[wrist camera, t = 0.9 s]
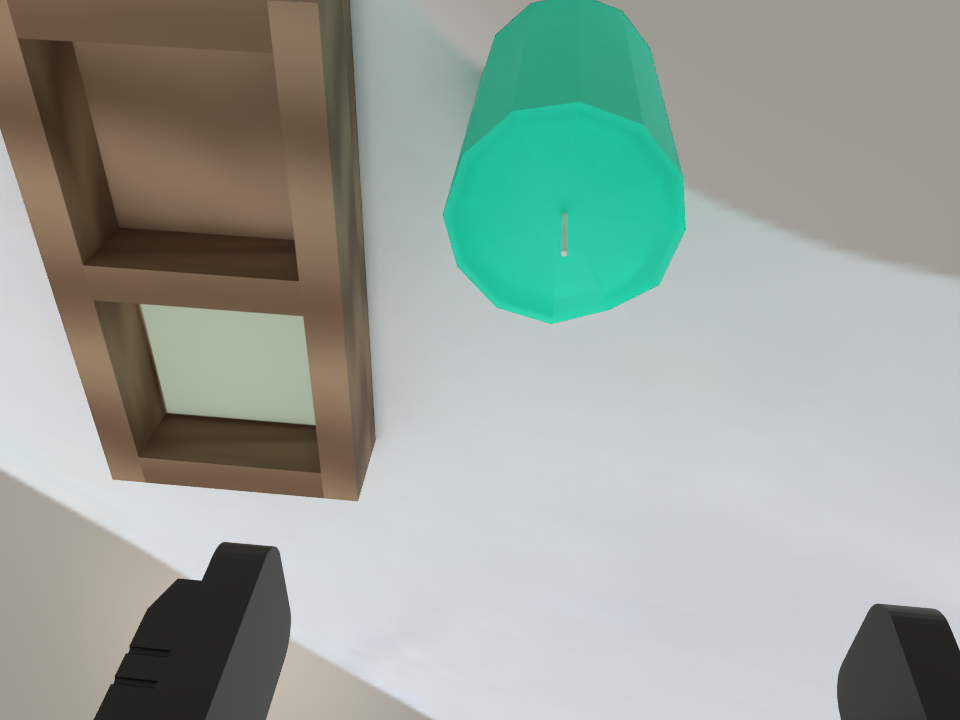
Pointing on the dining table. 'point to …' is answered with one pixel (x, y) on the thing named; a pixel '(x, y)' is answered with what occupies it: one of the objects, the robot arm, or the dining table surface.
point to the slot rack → (201, 231)
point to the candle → (566, 167)
